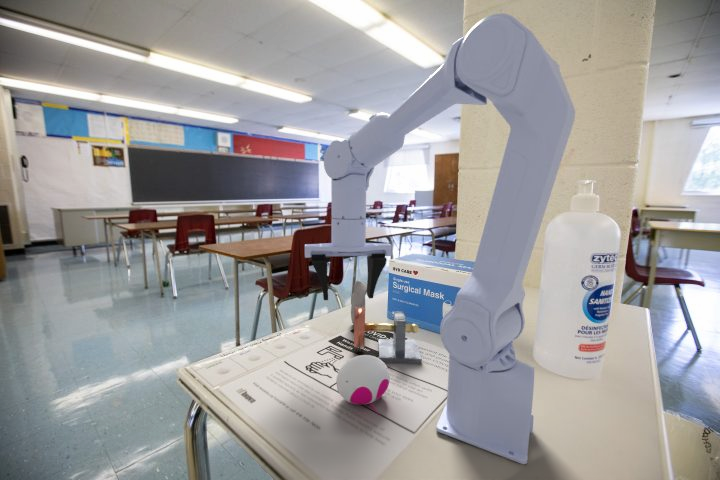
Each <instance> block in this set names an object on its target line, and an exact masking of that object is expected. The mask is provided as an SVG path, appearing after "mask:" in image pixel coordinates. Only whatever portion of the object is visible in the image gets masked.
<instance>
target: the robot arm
mask: <svg viewBox="0 0 720 480" xmlns="http://www.w3.org/2000/svg"><path fill="white" fill-rule="evenodd" d="M488 100H489V101H491V102H492V105H493V106H494V108H495V109H496V110H497V111H498V113H499V114H500V115H501V117H502V118H503V119H504V120H505V122H506V123H507V124H508V126H509V127H510V132H509V133H508V134H509V135H508V138H507V142H506V144H505V145H506V146H505V148H504V152H503V156H502V161H501V165H500V168H499V172H498V175H497V179H496V183H495V187H494V189H493V194H492V197H491V201H490V205H489V207H488V212H487V216H486V219H485V223H484V225H483V226H484V227H483V232H482V235H481V238H480V242H479V245H478V249H477V252H476V257H475V260H474V263H473V267H472V271H471V274H470V275H469V277H468V278H467V279H466V281H465V282H464V284H463V285H462V286H461V287H460V289H459V290H458V292H457V294H456V296H455V299H454V303H453V306H452V307H451V309H449V310H448V311H447V313H445V315H443V317H442V320H441V321H440V324H439V325H440V327H439V335H440V339H441V343H442V346H443V347H444V348H445V350H446V352H447V353H448V354H449V355H448V359H449V361H448V374H447V375H448V376H447V377H448V379H447V393H446V403H445V405H444V407H443V410H442V412H441V413H440V416H439V419H438V420H437V423H436V426H435V429H436V431H437V432H438V433H441V434H444V435H446V436H449V437H451V438H454V439H457V440H459V441H462V442H464V443H467V444H469V445H472V446H475V447H477V448H479V449H482V450H486V451H487V452H490V453H493V454H495V455H497V456H501V457H502V458H503V457H504V458H506V459H508V460H511V461H512V462H513V461H514V462H517V463H519V464H523V465H525V464H526V465H527V463H528V453H529V441H530V433H531V434H533V431H534V419H535V418H534V415H533V414H532V412H533V411H532V409H533V399H534V387H535V386H534V385H535V366H533V365H531V364H528V363H525V362H522V361H521V360H518V359H517V356H516V352H515V349H514V345H513V344H514V341H515V340H516V339H518V338H519V337H520V336H521V334H522V333H523V332H524V329H525V323H526V322H525V321H526V320H525V315H524V310H523V305H524V304H523V303H524V300H525V297H526V291H525V289H524V286H523V282H524V279H525V275H526V272H527V269H528V265H529V263H530V259H531V257H532V253H533V251H534V247H535V244H536V241H537V237H538V234H539V231H540V229H541V226H542V222H543V218H544V216H545V213H546V209H547V206H548V203H549V200H550V197H551V195H552V191H553V188H554V185H555V182H556V179H557V175H558V173H559V170H560V166H561V163H562V160H563V157H564V155H565V154H564V153H565V150H566V148H567V145H568V142H569V139H570V138H569V137H570V135H571V132H572V129H573V126H574V122H575V119H576V109H575V105H574V104H573V101H572V98H571V96H570V93H569V91H568V88H567V85H566V83H565V79H564V78H563V75H562V73H561V68H560V65H559V64H558V62H557V61H556V60H555V59H554V58H552V56H551V55H550V54H549V53H548V52H547V50H546V48H544V46H543V45H542V43H540V41H539V39H538V38H537V37H536V35H535V34H534V33H533V32H532V31H531V30H530V29H529V28H527V27H526V26H525V25H524V24H523V23H522V22H520V20H518V19H517V18H516V17H514V16H512V15H511V14H508V13H504V12H503V13H502V12H501V13H500V12H499V13H493V14H491V15H488V16H486V17H484V18H482V19H480V20H479V21H478V22H477V23H476V24H475V25H473V26H472V27H471V28H470V29H469V31H467V33H466V34H465V36H463V37H461V38H459V39H457V40H456V41H455V42H453V44H452V45H451V46H450V48H449V51H448V53H447V55H446V57H445V60H444V61H443V64H441V65H440V67H438V68H437V69H436V70H435V72H433V73H432V74H431V75H430V76H429V77H428V78H427V79H426V80H424V82H423V83H422V84H421V85H420V86H419V87H418V88H417V89H416V90H415V91H414V92H413V93H411V94H410V95H409V96H407V98H406V99H405V100H404V101H403V102H401V104H400V105H398V107H397V108H395V109H394V111H392V112H391V113H390V114H388V113H385V112H380V113H374V114H372V115H371V116H370V117H369V118H368V121H367V123H366V124H364V125H363V126H362V127H360V129H359V130H357V131H356V132H355V133H352V134H351V135H350V136H349V138H348V139H344V140H338V139H337V140H336V139H335V140H333V141H331V142H330V144H329V146H328V147H327V148H326V150H325V153H324V156H323V168H324V170H325V173H326V175H327V176H328V177H329V178H331V182H330V183H331V191H330V192H331V217H330V218H331V226H330V227H331V242H328V243H327V242H326V243H311V244H310V243H308V244H307V243H306V244H304V258H306V259H308V258H309V259H310V258H311V264H312V265H313V266H312V267H313V268H314V270H315V272H316V275H317V277H318V279H319V282H320V286H321V290H322V297H323V301H329V289H328V258H327V257H363V256H364V257H366V261H367V262H366V265H367V279H366V280H367V282H366V284H367V293H366V296H367V297H368V299H374V295H375V290H376V286H377V283H378V281H379V278H380V276H381V274H382V272H383V269H384V268H385V267H386V264H387V261H388V260H387V257H392V249H393V247H392V244H390V243H381V242H379V243H378V242H375V243H374V242H366V234H367V233H366V229H367V228H366V227H367V224H366V223H367V219H366V218H367V191H368V188H369V187H370V179H371V177H372V175H373V173H374V169H375V167H376V166H377V165H379V164H381V162H383V161H384V160H387V158H390V157H391V156H392V155H393V154H395V153H396V152H398V151H399V150H400V149H402V148H403V146H404V142H405V137H406V135H408V134H409V133H411V132H412V131H414V130H415V129H417V128H419V127H420V126H422V125H424V124H425V123H427V122H429V121H430V120H432V119H433V118H435V117H437V116H438V115H440V114H441V113H443V112H444V111H446V110H448V109H449V108H451V107H452V106H454V105H459V104H460V105H474V106H475V105H476V106H477V105H478V106H486V105H487V104H488Z"/></svg>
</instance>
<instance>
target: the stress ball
mask: <svg viewBox="0 0 720 480" xmlns="http://www.w3.org/2000/svg"><path fill="white" fill-rule="evenodd" d="M390 379H391V376H390V371H389V367H388V366H387V365H386V362H383V361H382V360H380V359H379V357H376V356H375V355H370V354H362V355H361V354H360V355H357V356H354V357H351V358H350V359H348V360H347V361H346V362H344V363H343V364H342V366H341V367H340V369H339V370H338V372H337V375H336V380H335V381H336V382H335V383H336V389H337V392H338V393H339V395H340V396H341V397H342V399H344V400H345V401H347V402H348V403H351V404H354V405H361V406H363V405H369V406H370V407H371V408H372V409H373V410H374V411H375V412H376V413H377V415H378V416H380V414H379V413H378V411H377V410H376V409H375V407H374V406H373V404H372V403H374V402H375V401H377V400H379V399H380V398H382V396H383V395H384V394H385V393H386V391H387V390H388V388H389V385H390Z"/></svg>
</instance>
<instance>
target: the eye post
mask: <svg viewBox="0 0 720 480" xmlns="http://www.w3.org/2000/svg"><path fill="white" fill-rule="evenodd" d="M393 324H396V328H395V332H392V334H393V335H392V338H378V343H377V345H379V346H378V358H379V359H380V360H382V361H383V362H384V363H385V364H386V363H387V364H389V363H392V364H393V363H394V364H395V363H396V364H422V362H423V359H422V356H421V351H420V350H419V347H418V344H417V341H416V339H406V333H407V332H406V324H407V320H406V318H405V314H404V311H400V310H398V311H396V310H394V312H393Z"/></svg>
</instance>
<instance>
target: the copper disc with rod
mask: <svg viewBox="0 0 720 480" xmlns="http://www.w3.org/2000/svg"><path fill="white" fill-rule="evenodd" d="M395 328H396V324H394V323H377V322H375V323H373V322H366V307H365V308H364V307H355V314H354V324H353V347H354V348H365V345H366V344H365V343H366V341H365V337H366V332H373V333H374V332H380V333H382V332H383V333H393V332H395ZM419 329H420V328H419V325H418V324H417V323H412V324H411V323H406V333H413V334H417V333H418V332H419Z"/></svg>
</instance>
